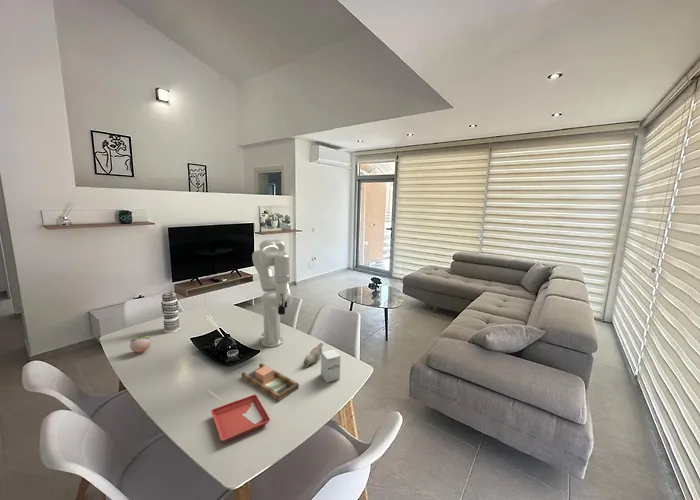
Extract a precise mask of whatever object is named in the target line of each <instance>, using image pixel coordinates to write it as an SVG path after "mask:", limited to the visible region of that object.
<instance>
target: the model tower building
mask: <svg viewBox="0 0 700 500" xmlns="http://www.w3.org/2000/svg"><path fill="white" fill-rule="evenodd" d="M161 298H162V301H161V302H160V304H161V310H162V315H163V321H162V322H163V327H164V328H163V330H164V331H165V330H166V332H171V333H175V332H177V330H178V329H179V330H180V322H179V319H180V318H179V315H178V313H179V306H178V305H179V300H177V299H178V298H177V293H175V292H174V291H167V292H164V293H163V294H162V295H161ZM179 330H178V331H179ZM174 331H175V332H174ZM166 332H165V333H166Z"/></svg>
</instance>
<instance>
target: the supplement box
mask: <svg viewBox="0 0 700 500" xmlns="http://www.w3.org/2000/svg"><path fill="white" fill-rule="evenodd" d="M320 358H321V359H320V375H321V377H322V379H323V380H324V381H325V383H326V384H327V383H330V382H334V381H337V380H340V379H341V354H339V352H338V351H337V350H336V349H330V350H325V351H322V352H321V355H320Z"/></svg>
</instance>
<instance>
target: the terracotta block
mask: <svg viewBox="0 0 700 500" xmlns="http://www.w3.org/2000/svg"><path fill="white" fill-rule="evenodd" d="M267 366H268V365H266V366H264V367H262V368H260V369H259V368H257V369H258V370H257V369H255V370H256V371H255V370H254V371H255V379H256V380H258V381H259V382H261V383H262V384H264V385H265V384H267V383H269V382H270V381H272V380H274V370H275V369H273V368H271V367H270V366H268V367H267Z"/></svg>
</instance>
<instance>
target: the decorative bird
mask: <svg viewBox="0 0 700 500" xmlns="http://www.w3.org/2000/svg"><path fill="white" fill-rule="evenodd" d="M323 346H324V344H323V343H322V342H320V343H319V344H318V345H317V346H315V347H314V348H312V349H311V351H310V352H309V354H308V355H306V356H305V358H304V360H303V365H304V366H303V367H304V368H305V369H308V367H309V365H311V364H315V363H317V362H318V360H319V359H320V358H321V352H323V348H322V347H323Z"/></svg>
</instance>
